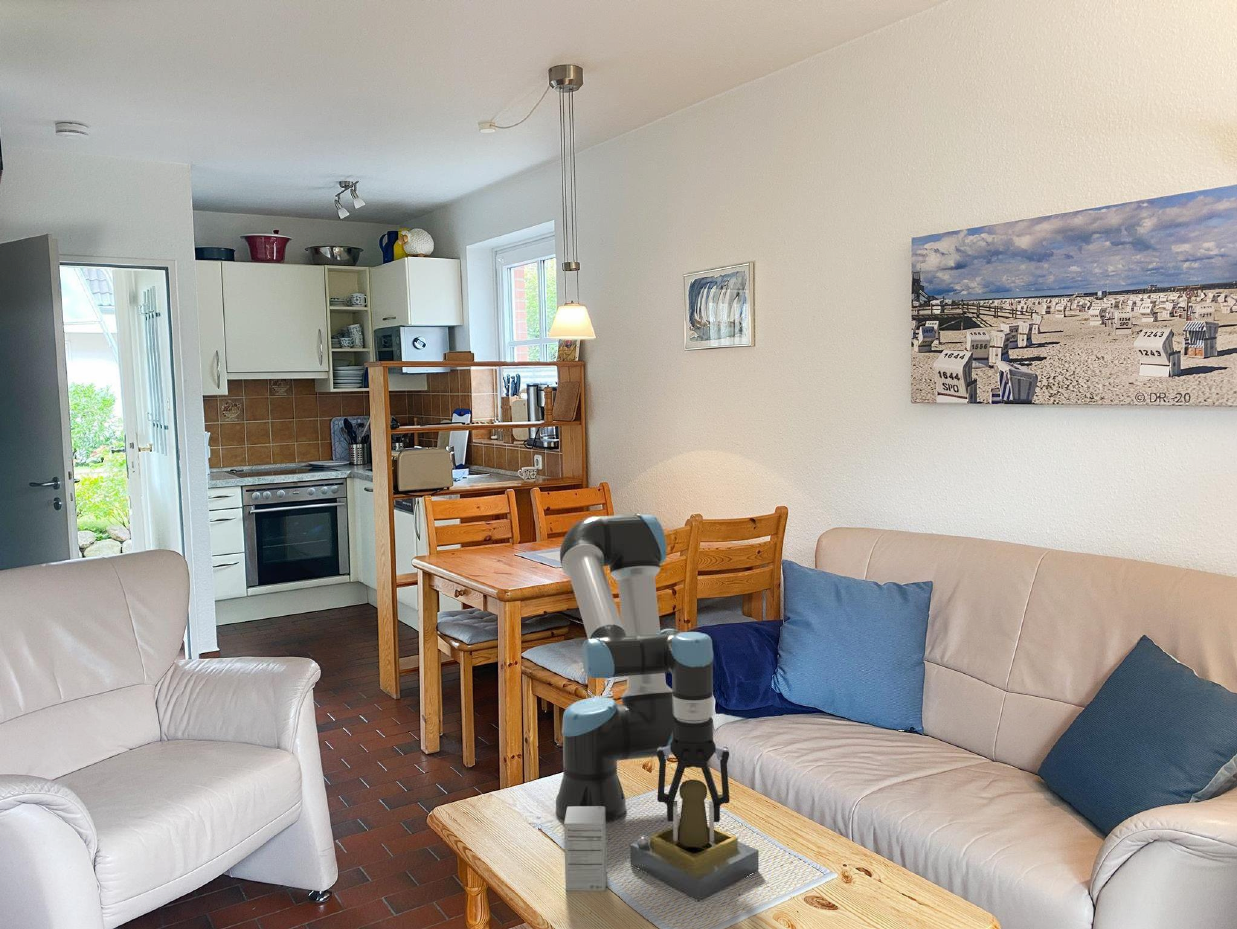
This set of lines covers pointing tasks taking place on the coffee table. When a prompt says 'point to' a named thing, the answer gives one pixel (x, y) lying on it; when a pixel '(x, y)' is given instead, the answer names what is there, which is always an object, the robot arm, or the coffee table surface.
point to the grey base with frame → (694, 862)
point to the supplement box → (585, 848)
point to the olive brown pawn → (693, 814)
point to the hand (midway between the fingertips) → (693, 837)
